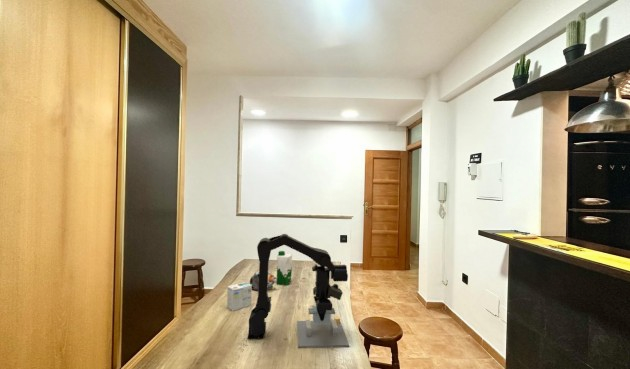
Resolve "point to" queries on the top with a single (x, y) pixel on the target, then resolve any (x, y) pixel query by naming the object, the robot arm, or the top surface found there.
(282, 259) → the milk carton
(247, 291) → the light bulb box
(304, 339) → the plate
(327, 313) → the servo block
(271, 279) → the lucky cat figurine
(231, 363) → the top surface
